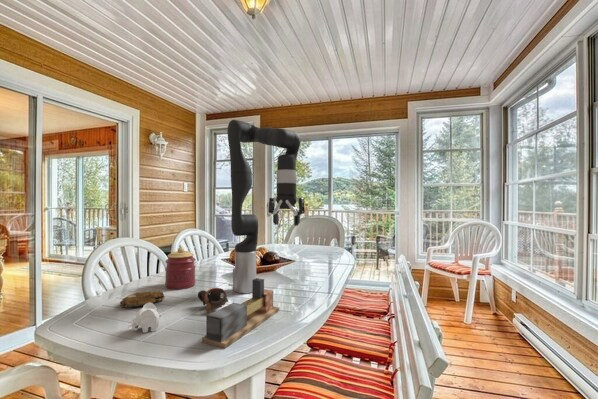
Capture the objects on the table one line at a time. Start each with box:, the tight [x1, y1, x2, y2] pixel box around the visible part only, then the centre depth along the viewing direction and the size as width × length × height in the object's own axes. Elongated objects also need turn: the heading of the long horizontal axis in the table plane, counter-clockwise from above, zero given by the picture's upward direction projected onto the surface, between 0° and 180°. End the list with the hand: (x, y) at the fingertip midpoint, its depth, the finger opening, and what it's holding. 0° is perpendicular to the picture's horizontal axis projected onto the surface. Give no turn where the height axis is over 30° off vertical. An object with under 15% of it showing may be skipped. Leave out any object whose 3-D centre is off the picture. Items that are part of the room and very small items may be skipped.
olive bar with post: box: [240, 277, 265, 316], centre depth 97 cm, size 18×3×9 cm, turn 155°
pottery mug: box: [197, 287, 229, 313], centre depth 108 cm, size 12×10×8 cm
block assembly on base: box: [201, 288, 280, 349], centre depth 94 cm, size 30×8×8 cm, turn 155°
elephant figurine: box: [127, 302, 164, 333], centre depth 90 cm, size 8×10×7 cm
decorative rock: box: [119, 290, 165, 308], centre depth 114 cm, size 11×4×15 cm
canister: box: [164, 246, 196, 290], centre depth 137 cm, size 13×13×18 cm
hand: (286, 225), depth 113 cm, fingers open, 8 cm apart
